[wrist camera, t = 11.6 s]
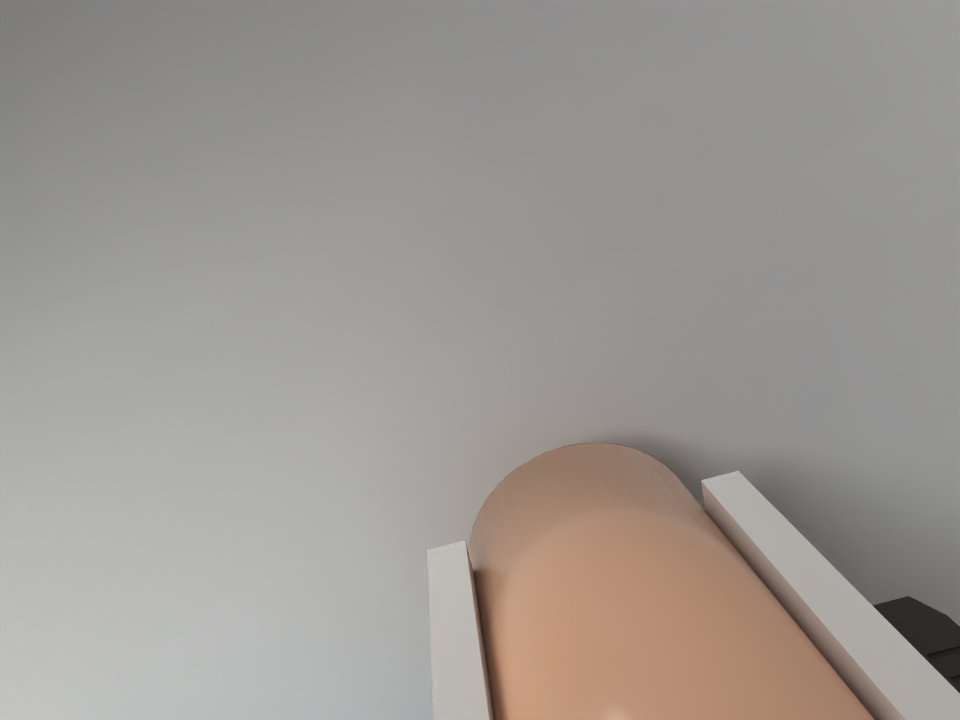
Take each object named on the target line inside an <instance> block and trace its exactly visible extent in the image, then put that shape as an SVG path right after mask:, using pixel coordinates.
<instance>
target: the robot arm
mask: <svg viewBox="0 0 960 720" xmlns="http://www.w3.org/2000/svg"><path fill="white" fill-rule="evenodd" d="M701 484H702V491H703V499H704V506H705V512H706V513H707V514H708V515H709V517H710V518H711V519H712V520H713V521H714V523H715V524H716V525H717V526H718V528H719V529H720V530H721V531H722V532H723V534H724V535H725V536H726V537H727V539H728V540H729V541H730V542H731V544H732V545H733V546H734V547H735V548H736V550H737V551H738V552H739V553H740V555H741V556H742V557H743V558H744V560H745V561H746V562H747V563H748V564H749V566H750V567H751V568H752V569H753V571H754V572H755V573H756V574H757V575H758V577H759V578H760V579H761V580H762V582H763V583H764V584H765V585H766V587H767V588H768V589H769V590H770V591H771V593H772V594H773V595H774V596H775V598H776V599H777V600H778V601H779V602H780V604H781V605H782V606H783V607H784V609H785V610H786V611H787V612H788V614H789V615H790V616H791V617H792V618H793V620H794V621H795V622H796V623H797V625H798V626H799V627H800V628H801V630H802V631H803V632H804V633H805V634H806V636H807V637H808V638H809V639H810V641H811V642H812V643H813V644H814V645H815V647H816V648H817V649H818V650H819V652H820V653H821V654H822V655H823V657H824V658H825V659H826V660H827V661H828V663H829V664H830V665H831V666H832V668H833V669H834V670H835V671H836V673H837V674H838V675H839V676H840V677H841V679H842V680H843V681H844V682H845V684H846V685H847V686H848V687H849V688H850V690H851V691H852V692H853V693H854V695H855V696H856V697H857V698H858V700H859V701H860V702H861V703H862V704H863V706H864V707H865V708H866V709H867V711H868V712H869V713H870V714H871V716H872V717H873V718H874V719H875V720H960V627H959V626H958V625H957V624H956V623H955V622H954V621H952V620H951V619H950V618H949V617H948V616H947V615H945V614H943V613H941V612H939V611H937V610H935V609H933V608H931V607H929V606H927V605H925V604H923V603H921V602H919V601H917V600H915V599H913V598H911V597H909V596H907V597H904V598H900V599H896V600H892V601H888V602H884V603H880V604H877V605H873V606H872V605H871V604H870V603H869V602H868V601H867V600H866V599H865V598H864V597H863V596H862V595H861V594H860V593H859V592H858V591H857V590H856V589H855V588H854V587H853V586H852V585H851V584H850V583H849V581H848V580H847V579H846V578H845V577H844V576H843V575H842V574H841V573H840V572H839V571H838V570H837V569H836V568H835V567H834V566H833V565H832V564H831V563H830V562H829V561H828V560H827V559H826V558H825V557H824V556H823V555H822V554H821V553H820V552H819V551H818V550H817V549H816V548H815V547H814V546H813V545H812V544H811V543H810V542H809V541H808V540H807V539H806V538H805V537H804V536H803V535H802V534H801V533H800V532H799V531H798V530H797V529H796V528H795V527H794V526H793V525H792V524H791V523H790V522H789V521H788V520H787V519H786V518H785V517H784V516H783V515H782V514H781V513H780V512H779V511H778V510H777V509H776V508H775V507H774V506H773V505H772V504H771V503H770V502H769V501H768V500H767V499H766V498H765V497H764V496H763V495H762V494H761V493H760V492H759V491H758V490H757V489H756V488H755V487H754V486H753V485H752V484H751V483H750V482H749V481H748V480H747V479H746V478H745V477H744V476H743V475H742V474H741V473H740V472H739V471H735V472H731V473H727V474H723V475H719V476H715V477H711V478H707V479H703V480H701ZM427 560H428V588H429V615H430V642H431V670H432V697H433V720H495V719H494V712H493V705H492V698H491V690H490V683H489V676H488V669H487V662H486V655H485V648H484V641H483V634H482V627H481V620H480V613H479V606H478V598H477V591H476V584H475V577H474V570H473V567H472V563H471V559H470V556H469V552H468V549H467V545H466V541H465V540H463V541H460V542H456V543H452V544H448V545H444V546H440V547H436V548H432V549H428V550H427Z"/></svg>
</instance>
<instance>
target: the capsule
mask: <svg viewBox="0 0 960 720" xmlns="http://www.w3.org/2000/svg"><path fill="white" fill-rule="evenodd" d="M469 556H470V559H471V563H472V567H473V570H474V577H475V584H476V591H477V598H478V606H479V613H480V620H481V627H482V634H483V641H484V648H485V655H486V662H487V669H488V676H489V683H490V690H491V698H492V705H493V712H494V719H495V720H875V719H874V718H873V717H872V716H871V714H870V713H869V712H868V711H867V709H866V708H865V707H864V706H863V704H862V703H861V702H860V701H859V700H858V698H857V697H856V696H855V695H854V693H853V692H852V691H851V690H850V688H849V687H848V686H847V685H846V684H845V682H844V681H843V680H842V679H841V677H840V676H839V675H838V674H837V673H836V671H835V670H834V669H833V668H832V666H831V665H830V664H829V663H828V661H827V660H826V659H825V658H824V657H823V655H822V654H821V653H820V652H819V650H818V649H817V648H816V647H815V645H814V644H813V643H812V642H811V641H810V639H809V638H808V637H807V636H806V634H805V633H804V632H803V631H802V630H801V628H800V627H799V626H798V625H797V623H796V622H795V621H794V620H793V618H792V617H791V616H790V615H789V614H788V612H787V611H786V610H785V609H784V607H783V606H782V605H781V604H780V602H779V601H778V600H777V599H776V598H775V596H774V595H773V594H772V593H771V591H770V590H769V589H768V588H767V587H766V585H765V584H764V583H763V582H762V580H761V579H760V578H759V577H758V575H757V574H756V573H755V572H754V571H753V569H752V568H751V567H750V566H749V564H748V563H747V562H746V561H745V560H744V558H743V557H742V556H741V555H740V553H739V552H738V551H737V550H736V548H735V547H734V546H733V545H732V544H731V542H730V541H729V540H728V539H727V537H726V536H725V535H724V534H723V532H722V531H721V530H720V529H719V528H718V526H717V525H716V524H715V523H714V521H713V520H712V519H711V518H710V517H709V515H708V514H707V513H706V512H705V510H704V509H703V508H702V507H701V505H700V504H699V503H698V502H697V501H696V499H695V498H694V497H693V496H692V494H691V493H690V492H689V491H688V489H687V488H686V487H685V486H684V485H683V483H682V482H681V481H680V480H679V478H678V477H677V476H676V475H675V474H674V473H673V472H672V471H671V470H670V469H669V468H668V467H667V466H665V465H664V464H663V463H661V462H660V461H658V460H657V459H655V458H654V457H652V456H650V455H648V454H646V453H644V452H642V451H639V450H636V449H633V448H630V447H627V446H623V445H617V444H612V443H597V442H594V443H579V444H574V445H569V446H563V447H560V448H557V449H554V450H551V451H548V452H545V453H543V454H541V455H539V456H537V457H534V458H532V459H531V460H529V461H528V462H526V463H524V464H523V465H521V466H519V467H518V468H517V469H515V470H514V471H513V472H512V473H510V474H509V475H508V476H507V477H506V478H505V479H504V480H503V481H502V482H501V483H500V484H499V485H498V486H497V487H496V488H495V489H494V490H493V492H492V493H491V494H490V495H489V497H488V498H487V499H486V501H485V503H484V505H483V506H482V508H481V510H480V511H479V514H478V516H477V518H476V521H475V523H474V526H473V529H472V533H471V537H470V544H469Z"/></svg>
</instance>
